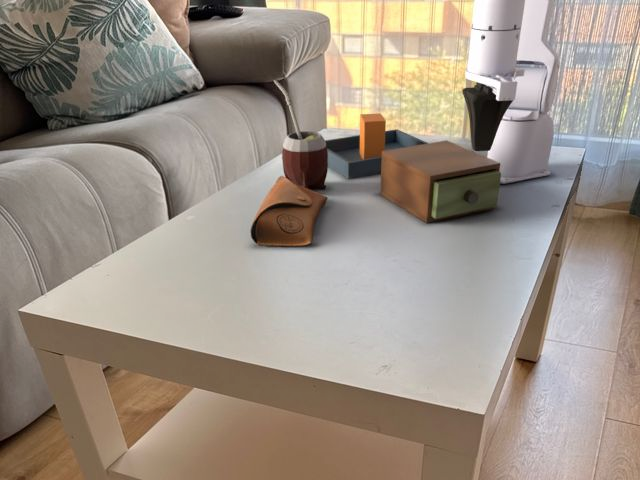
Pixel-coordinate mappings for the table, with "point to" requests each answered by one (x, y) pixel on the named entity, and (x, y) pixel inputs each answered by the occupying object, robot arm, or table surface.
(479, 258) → the table surface
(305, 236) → the sunglasses case
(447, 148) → the cabinet
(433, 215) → the drawer
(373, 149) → the orange wooden block
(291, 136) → the mate gourd
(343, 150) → the tray
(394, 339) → the table surface
